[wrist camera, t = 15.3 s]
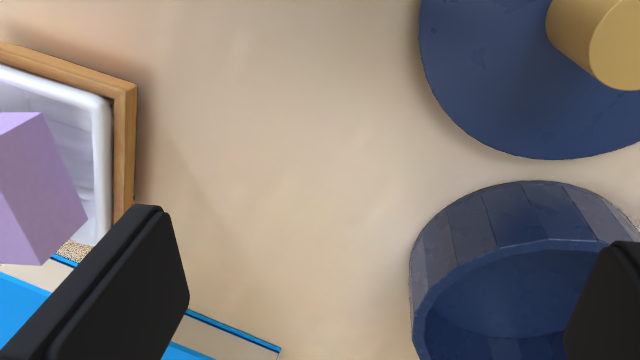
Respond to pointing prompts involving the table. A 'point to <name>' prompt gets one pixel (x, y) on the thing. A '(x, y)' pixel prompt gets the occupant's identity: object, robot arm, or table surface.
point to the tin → (507, 270)
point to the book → (184, 348)
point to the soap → (34, 192)
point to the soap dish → (79, 128)
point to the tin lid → (536, 72)
